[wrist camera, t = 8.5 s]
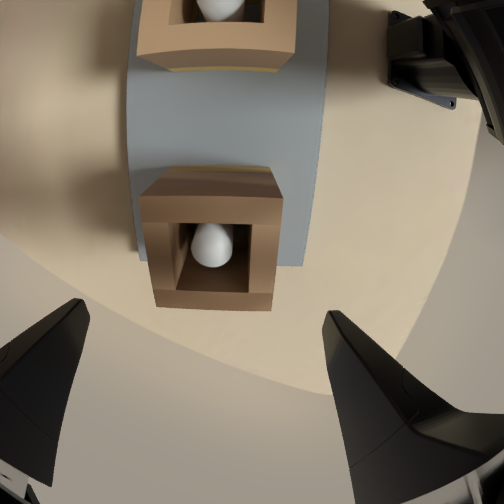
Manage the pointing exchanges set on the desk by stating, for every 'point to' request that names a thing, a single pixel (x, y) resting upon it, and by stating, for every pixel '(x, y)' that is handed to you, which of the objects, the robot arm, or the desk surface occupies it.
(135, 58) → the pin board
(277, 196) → the sleeve
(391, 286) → the desk surface
